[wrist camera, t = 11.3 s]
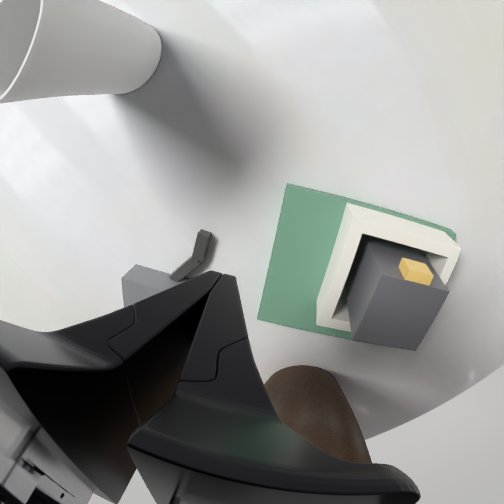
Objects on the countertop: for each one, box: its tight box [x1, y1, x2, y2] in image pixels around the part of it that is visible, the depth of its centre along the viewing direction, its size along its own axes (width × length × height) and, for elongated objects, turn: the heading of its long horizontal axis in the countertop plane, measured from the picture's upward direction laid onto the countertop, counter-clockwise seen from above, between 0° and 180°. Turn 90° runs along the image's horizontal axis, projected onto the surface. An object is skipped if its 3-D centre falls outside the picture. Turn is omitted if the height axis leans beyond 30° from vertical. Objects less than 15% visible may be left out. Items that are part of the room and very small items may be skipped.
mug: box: [0, 0, 162, 103], centre depth 12 cm, size 10×7×12 cm, turn 49°
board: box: [257, 183, 462, 340], centre depth 20 cm, size 11×13×4 cm
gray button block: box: [122, 229, 211, 307], centre depth 24 cm, size 12×7×3 cm, turn 171°
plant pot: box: [264, 366, 372, 463], centre depth 21 cm, size 15×15×16 cm
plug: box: [344, 234, 449, 351], centre depth 17 cm, size 5×4×6 cm
